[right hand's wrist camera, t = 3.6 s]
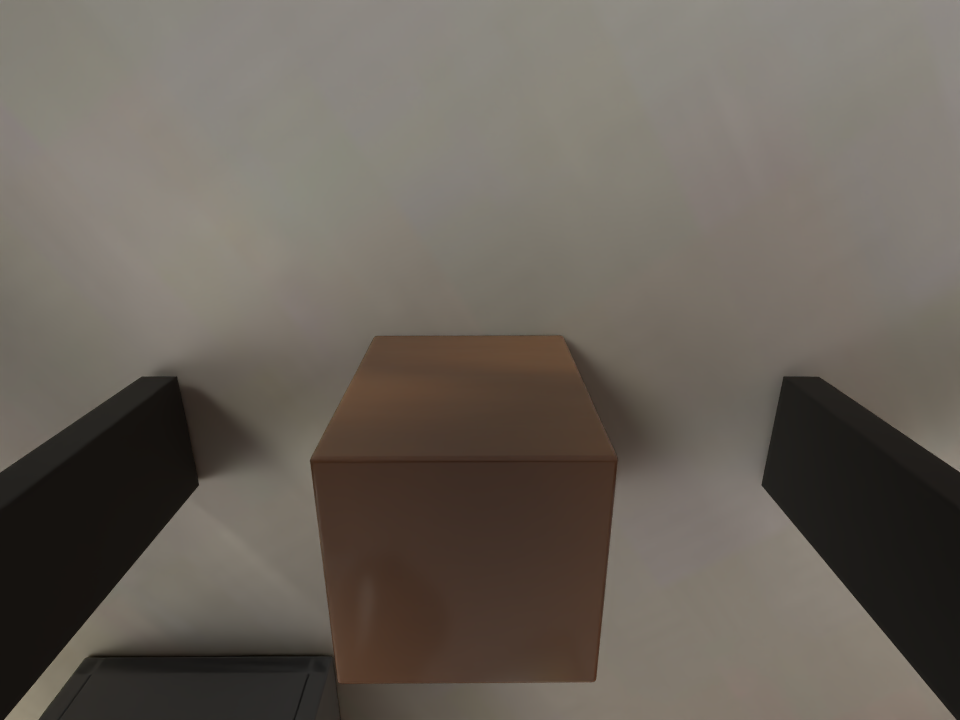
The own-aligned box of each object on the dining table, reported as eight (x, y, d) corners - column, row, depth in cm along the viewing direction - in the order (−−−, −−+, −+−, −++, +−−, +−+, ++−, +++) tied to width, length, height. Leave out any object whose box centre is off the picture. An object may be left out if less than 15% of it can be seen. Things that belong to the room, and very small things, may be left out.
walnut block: (385, 496, 13) (336, 685, 9) (373, 334, 12) (308, 458, 7) (554, 495, 13) (597, 683, 9) (563, 334, 12) (620, 457, 7)
